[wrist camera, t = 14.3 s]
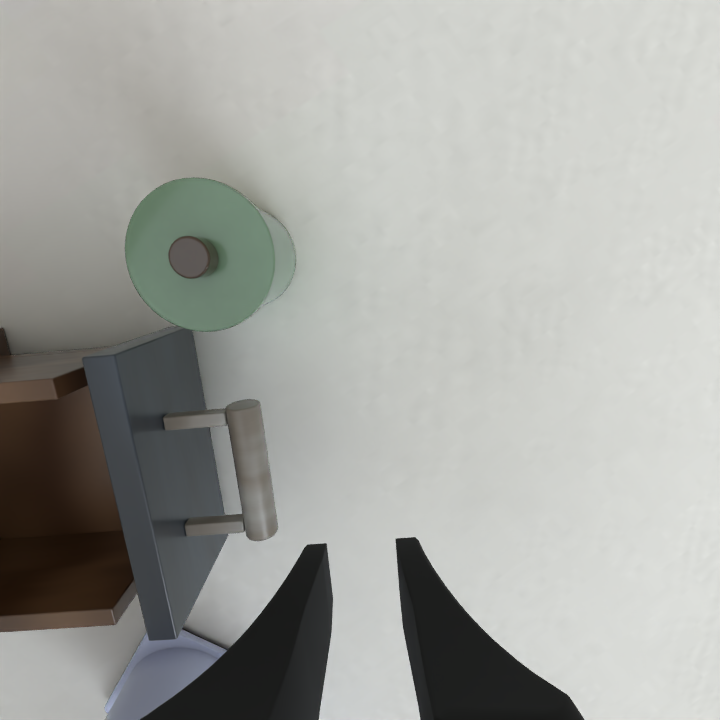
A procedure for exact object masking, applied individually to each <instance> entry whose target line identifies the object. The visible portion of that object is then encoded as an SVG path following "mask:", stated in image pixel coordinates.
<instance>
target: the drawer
mask: <svg viewBox="0 0 720 720" xmlns="http://www.w3.org/2000/svg"><path fill="white" fill-rule="evenodd" d="M227 424H228V427H229V434H230V440H231V446H232V452H233V458H234V464H235V470H236V476H237V482H238V488H239V494H240V500H241V506H242V513H243V514H236V515H225V514H224V509H223V503H222V497H221V491H220V486H219V480H218V474H217V469H216V463H215V457H214V452H213V446H212V440H211V434H210V429H209V427H217V426H226V425H227ZM277 530H278V523H277V516H276V509H275V502H274V495H273V488H272V482H271V475H270V468H269V461H268V454H267V447H266V440H265V433H264V426H263V419H262V412H261V406H260V402H259V401H258V400H252V399H247V400H240V401H236V402H233V403H231V404H229V405H227V406H226V408H225V409H212V410H206V406H205V400H204V395H203V389H202V383H201V377H200V372H199V366H198V360H197V355H196V349H195V343H194V338H193V332H192V330H188V329H185V328H182V327H179V326H177V327H168V328H165V329H162V330H159V331H156V332H154V333H151V334H148V335H145V336H142V337H139V338H136V339H133V340H130V341H128V342H125V343H122V344H119V345H116V346H113V347H103V348H90V349H78V350H66V351H54V352H42V353H30V354H18V355H6V356H0V632H13V631H28V630H44V629H59V628H75V627H90V626H106V625H116V624H117V622H118V621H119V619H120V618H121V616H122V615H123V613H124V612H125V610H126V609H127V607H128V606H129V604H130V603H131V601H132V600H133V599H134V597H135V596H136V594H137V593H138V597H139V601H140V606H141V610H142V614H143V618H144V622H145V627H146V631H147V635H148V639H149V641H157V640H173V639H177V638H178V636H179V634H180V632H181V630H182V628H183V626H184V624H185V622H186V620H187V618H188V616H189V614H190V612H191V610H192V607H193V605H194V603H195V601H196V599H197V597H198V595H199V593H200V591H201V589H202V587H203V585H204V583H205V581H206V579H207V577H208V575H209V573H210V571H211V569H212V567H213V565H214V563H215V561H216V559H217V557H218V555H219V553H220V551H221V549H222V547H223V545H224V543H225V541H226V539H227V536H228V534H229V533H243V532H244V531H246V536H247V537H248V538H249V539H250V540H253V541H262V540H266V539H268V538H270V537H272V536H273V535H275V533H276V532H277Z"/></svg>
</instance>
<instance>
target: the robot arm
mask: <svg viewBox="0 0 720 720" xmlns="http://www.w3.org/2000/svg"><path fill="white" fill-rule="evenodd" d="M396 550H397V563H398V577H399V590H400V601H401V611H402V621H403V629H404V635H405V640H406V645H407V650H408V655H409V660H410V665H411V670H412V675H413V681H414V686H415V691H416V696H417V701H418V706H419V712H420V719H421V720H584V718H583V717H582V715H581V714H580V712H579V711H578V709H577V708H576V706H575V705H574V703H573V702H572V700H571V699H570V697H569V696H568V695H567V694H565V693H564V692H562V691H561V690H559V689H558V688H556V687H555V686H553V685H551V684H550V683H548V682H547V681H545V680H544V679H542V678H541V677H539V676H538V675H536V674H535V673H533V672H532V671H531V670H529V669H528V668H527V667H525V666H524V665H523V664H521V663H520V662H519V661H517V660H516V659H515V658H514V657H513V656H512V655H510V654H509V653H508V652H507V651H506V650H505V649H503V648H502V647H501V646H500V645H499V644H498V643H497V642H495V641H494V640H493V639H492V638H491V637H490V636H489V635H488V634H487V633H486V632H485V631H484V630H483V629H482V628H481V627H480V626H479V625H478V624H477V623H476V622H475V621H474V620H473V619H472V618H471V616H470V615H469V614H468V613H467V612H466V611H465V610H464V609H463V607H462V606H461V605H460V604H459V603H458V601H457V600H456V599H455V597H454V596H453V595H452V594H451V592H450V591H449V590H448V588H447V587H446V586H445V584H444V583H443V581H442V580H441V579H440V577H439V576H438V574H437V573H436V571H435V570H434V568H433V567H432V565H431V563H430V562H429V560H428V558H427V557H426V555H425V553H424V551H423V549H422V547H421V545H420V543H419V540H418V539H416V538H415V537H412V538H398V539H396ZM332 608H333V595H332V586H331V578H330V569H329V561H328V552H327V544H326V543H325V544H310V545H307V546H306V547H305V548H304V550H303V551H302V553H301V555H300V557H299V558H298V560H297V562H296V563H295V565H294V567H293V568H292V570H291V571H290V573H289V575H288V576H287V578H286V579H285V581H284V582H283V584H282V585H281V587H280V588H279V590H278V591H277V592H276V594H275V595H274V597H273V598H272V599H271V601H270V602H269V603H268V605H267V606H266V607H265V608H264V610H263V611H262V612H261V614H260V615H259V616H258V617H257V619H256V620H255V621H254V622H253V623H252V625H251V626H250V627H249V628H248V629H247V630H246V631H245V633H244V634H243V635H242V636H241V637H240V638H239V639H238V640H237V641H236V642H235V643H234V644H233V645H232V646H231V647H230V648H229V649H228V650H225V649H223V648H221V647H219V646H217V645H215V644H212V643H210V642H208V641H206V640H204V639H202V638H200V637H197V636H195V635H193V634H191V633H189V632H187V631H185V630H181V632H180V634H179V636H178V638H177V639H173V640H157V641H149V639H148V635H147V632H146V634H145V636H144V638H143V639H142V641H141V643H140V645H139V646H138V648H137V650H136V652H135V654H134V655H133V657H132V659H131V661H130V662H129V664H128V666H127V668H126V669H125V671H124V673H123V675H122V677H121V678H120V680H119V682H118V684H117V685H116V687H115V689H114V691H113V693H112V694H111V696H110V698H109V700H108V701H107V703H106V705H105V711H106V712H107V713H108V715H107V716H106V718H105V720H319V712H320V705H321V698H322V692H323V685H324V679H325V672H326V665H327V659H328V652H329V645H330V638H331V630H332Z"/></svg>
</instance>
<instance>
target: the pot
mask: <svg viewBox="0 0 720 720" xmlns="http://www.w3.org/2000/svg"><path fill="white" fill-rule="evenodd" d="M125 257H126V263H127V268H128V271H129V274H130V278H131V280H132V282H133V284H134V286H135V288H136V290H137V291H138V293H139V295H140V296H141V297H142V299H143V300H144V301H145V303H146V304H147V305H148V306H149V307H150V308H151V309H152V310H153V311H154V312H156V313H157V314H158V315H159V316H161V317H162V318H164V319H165V320H167V321H168V322H170V323H172V324H175V325H177V326H179V327H182V328H185V329H188V330H194V331H202V332H211V331H219V330H224V329H227V328H230V327H233V326H235V325H237V324H239V323H241V322H243V321H245V320H246V319H248V318H249V317H251V316H252V315H253V314H254V313H255V312H256V311H258V310H259V308H260V307H261V306H263V305H265V304H267V303H269V302H271V301H273V300H275V299H276V298H278V297H279V296H280V295H281V294H282V293H283V292H284V291H285V290H286V289H287V287H288V286H289V284H290V282H291V280H292V278H293V275H294V272H295V266H296V255H295V249H294V245H293V242H292V239H291V237H290V235H289V233H288V232H287V230H286V229H285V227H284V226H283V225H282V224H281V223H280V222H279V221H278V220H277V219H276V218H274V217H273V216H271V215H270V214H268V213H266V212H264V211H262V210H260V209H258V208H257V207H256V206H255V205H254V204H253V203H252V202H251V201H250V200H249V199H248V198H247V197H246V196H244V195H243V194H241V193H240V192H238V191H237V190H235V189H233V188H231V187H229V186H227V185H225V184H223V183H220V182H218V181H215V180H210V179H206V178H195V177H193V178H182V179H177V180H173V181H171V182H168V183H165V184H163V185H162V186H160V187H158V188H156V189H155V190H153V191H152V192H151V193H150V194H148V195H147V196H146V197H145V198H144V199H143V200H142V201H141V203H140V204H139V206H138V207H137V208H136V210H135V212H134V214H133V216H132V217H131V220H130V223H129V225H128V229H127V233H126V240H125Z"/></svg>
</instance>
